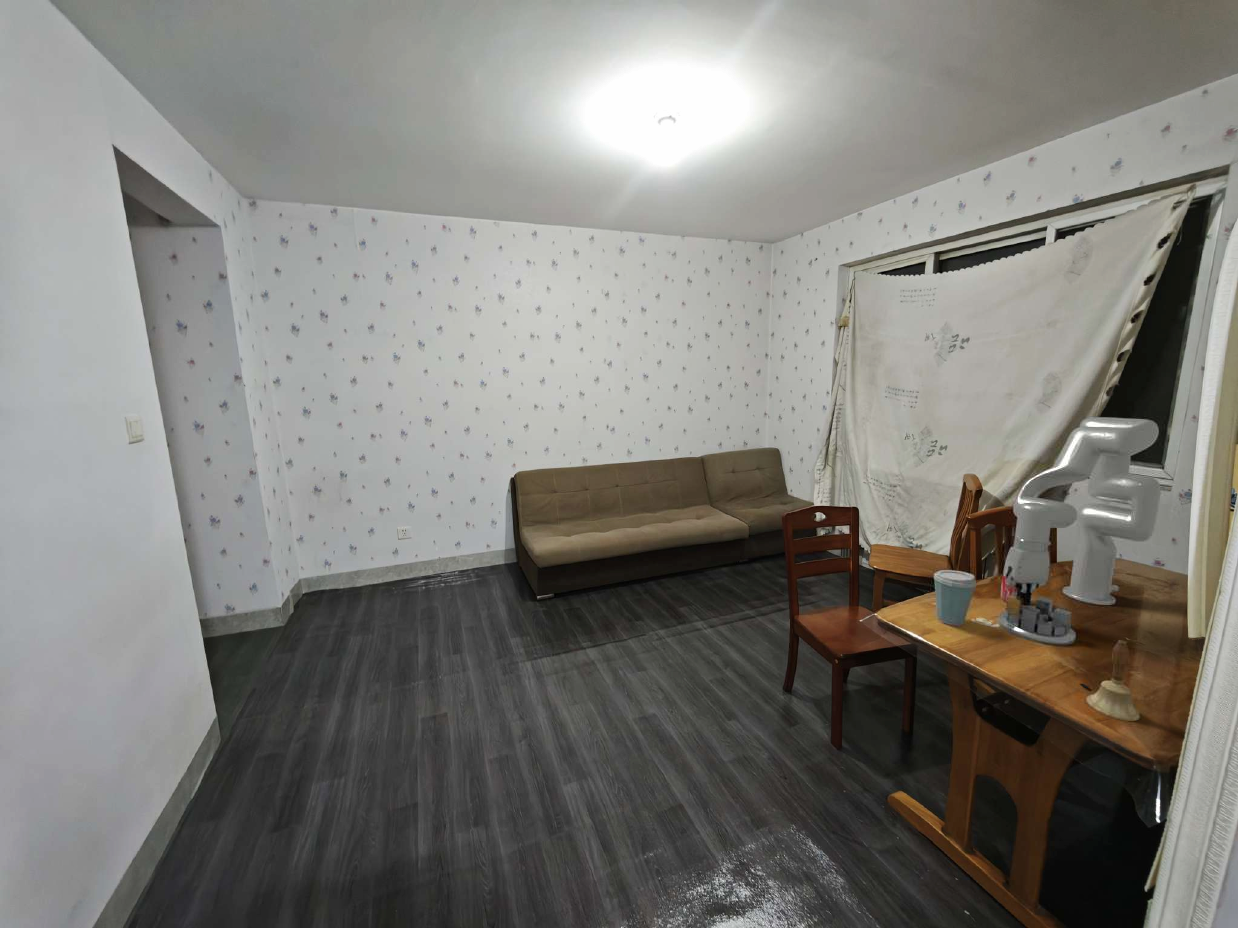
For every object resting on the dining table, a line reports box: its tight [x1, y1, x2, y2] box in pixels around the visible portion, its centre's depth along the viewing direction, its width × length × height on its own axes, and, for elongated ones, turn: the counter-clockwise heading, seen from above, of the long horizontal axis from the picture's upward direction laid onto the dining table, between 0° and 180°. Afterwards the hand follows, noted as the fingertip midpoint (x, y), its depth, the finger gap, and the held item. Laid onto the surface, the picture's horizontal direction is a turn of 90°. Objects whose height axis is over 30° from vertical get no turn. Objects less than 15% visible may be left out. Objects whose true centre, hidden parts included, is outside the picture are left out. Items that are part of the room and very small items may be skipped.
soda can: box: [1000, 570, 1021, 603], centre depth 157 cm, size 7×7×12 cm
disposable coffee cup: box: [933, 569, 977, 627], centre depth 145 cm, size 11×11×15 cm
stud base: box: [997, 611, 1077, 646], centre depth 140 cm, size 17×17×5 cm
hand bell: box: [1085, 639, 1141, 722], centre depth 105 cm, size 8×8×16 cm
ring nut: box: [1004, 595, 1072, 637], centre depth 139 cm, size 14×14×6 cm
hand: (1022, 603), depth 145 cm, fingers closed
